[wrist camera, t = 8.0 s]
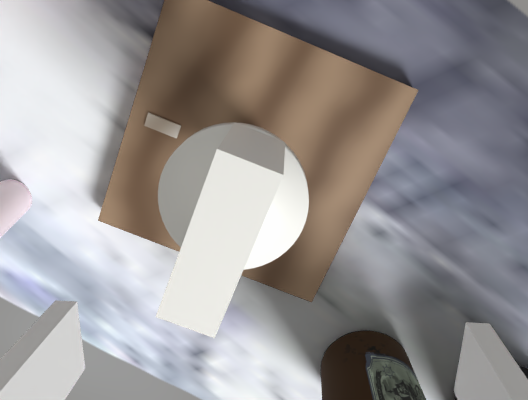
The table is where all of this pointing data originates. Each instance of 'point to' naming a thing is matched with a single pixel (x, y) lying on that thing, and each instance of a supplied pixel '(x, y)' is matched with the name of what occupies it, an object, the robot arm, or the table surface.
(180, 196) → the cap
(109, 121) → the table surface
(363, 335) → the olive oil
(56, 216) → the table surface
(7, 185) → the smoothie
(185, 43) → the post board
